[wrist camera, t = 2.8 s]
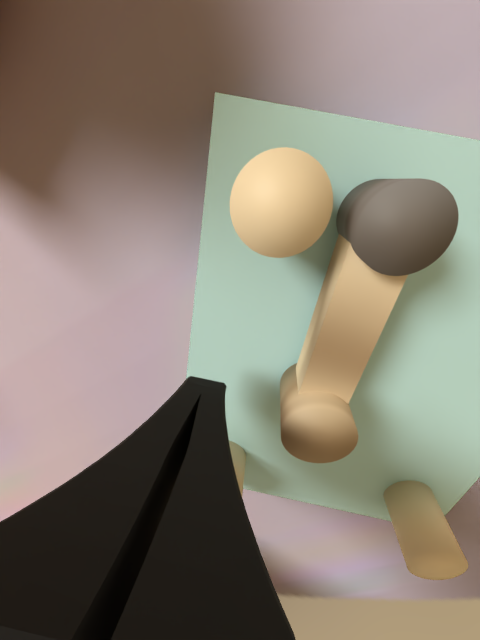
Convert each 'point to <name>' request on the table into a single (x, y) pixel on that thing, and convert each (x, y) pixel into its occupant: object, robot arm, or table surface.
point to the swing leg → (359, 306)
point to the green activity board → (298, 307)
